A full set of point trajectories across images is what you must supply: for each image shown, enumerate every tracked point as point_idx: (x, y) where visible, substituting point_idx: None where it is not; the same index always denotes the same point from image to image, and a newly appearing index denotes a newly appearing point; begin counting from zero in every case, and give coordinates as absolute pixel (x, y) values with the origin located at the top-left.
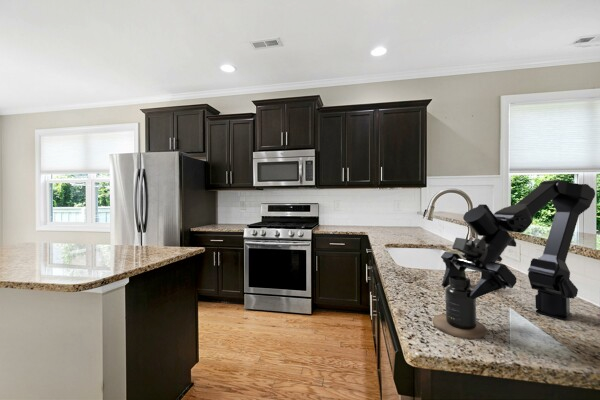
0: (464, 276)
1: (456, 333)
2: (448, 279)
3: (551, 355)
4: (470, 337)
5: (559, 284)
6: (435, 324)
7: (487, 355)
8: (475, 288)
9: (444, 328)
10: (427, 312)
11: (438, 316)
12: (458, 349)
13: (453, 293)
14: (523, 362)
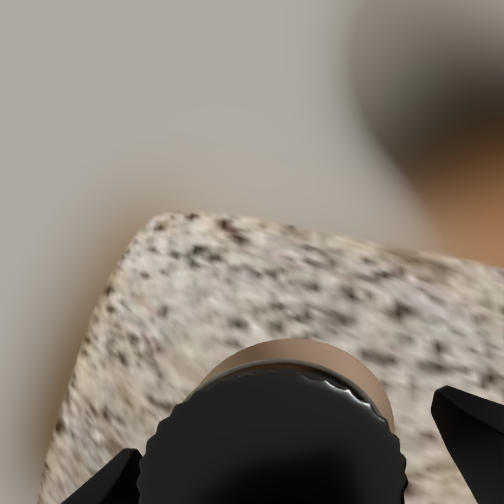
0: None
1: (205, 378)
2: (476, 446)
3: None
4: None
5: None
6: (293, 339)
7: (97, 391)
8: (90, 494)
9: (246, 352)
10: (437, 370)
11: (367, 386)
12: (137, 331)
13: (219, 376)
14: (62, 451)
